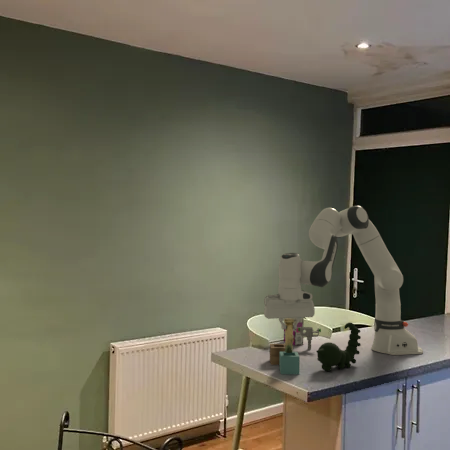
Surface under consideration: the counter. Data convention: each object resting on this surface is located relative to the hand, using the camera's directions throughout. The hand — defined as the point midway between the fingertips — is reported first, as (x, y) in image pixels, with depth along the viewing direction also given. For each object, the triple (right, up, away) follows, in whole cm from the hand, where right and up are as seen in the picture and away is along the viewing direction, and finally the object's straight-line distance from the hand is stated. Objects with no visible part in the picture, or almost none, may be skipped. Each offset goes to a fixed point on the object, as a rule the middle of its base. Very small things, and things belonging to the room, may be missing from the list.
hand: (289, 328), depth 213 cm
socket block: (0, -17, 0) cm, 17 cm away
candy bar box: (+8, -16, +47) cm, 50 cm away
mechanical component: (+14, -16, +35) cm, 41 cm away
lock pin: (0, -9, 0) cm, 9 cm away
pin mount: (-3, -17, +13) cm, 21 cm away
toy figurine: (+20, -17, +5) cm, 27 cm away
